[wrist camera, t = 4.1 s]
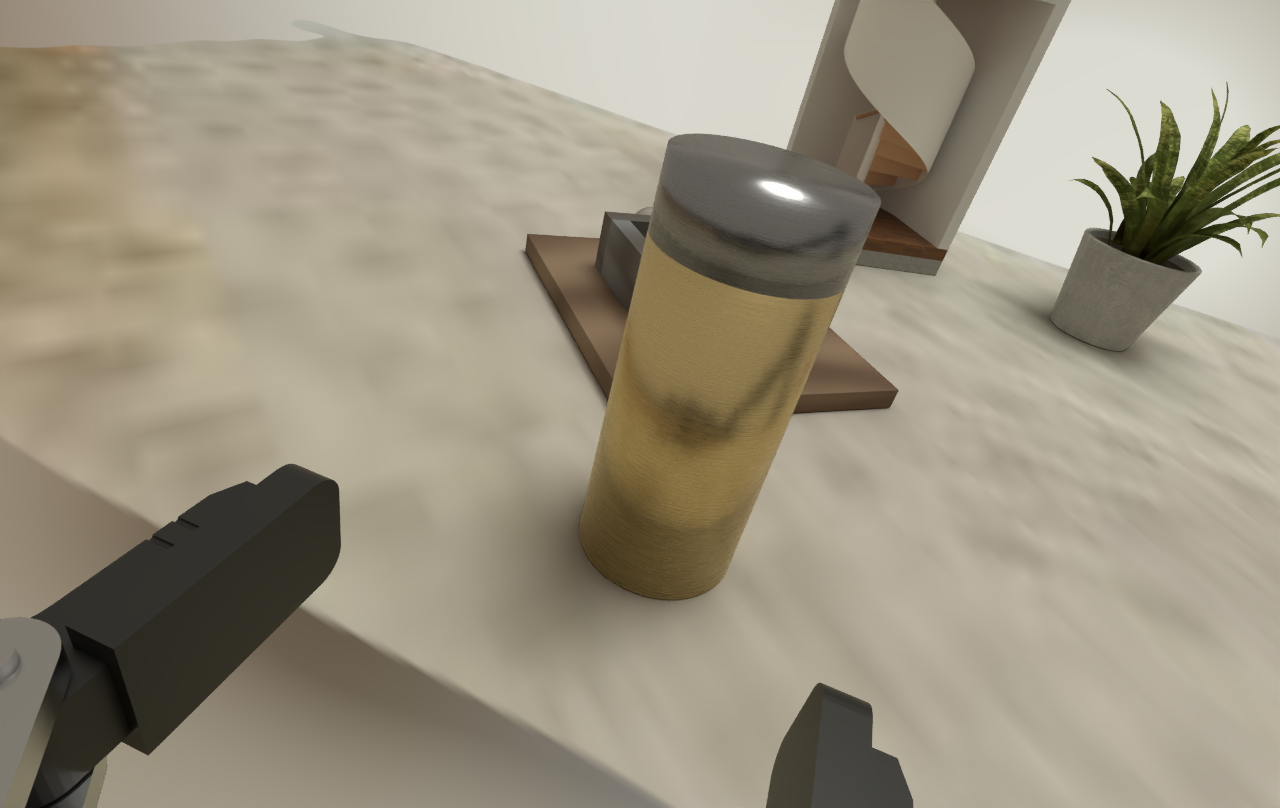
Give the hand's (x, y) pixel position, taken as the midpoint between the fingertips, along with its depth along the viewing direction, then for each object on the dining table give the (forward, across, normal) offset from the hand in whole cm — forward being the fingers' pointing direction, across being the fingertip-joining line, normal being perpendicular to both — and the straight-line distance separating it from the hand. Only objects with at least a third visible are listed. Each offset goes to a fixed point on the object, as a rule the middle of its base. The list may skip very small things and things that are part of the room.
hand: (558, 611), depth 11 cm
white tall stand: (+49, +4, -6) cm, 50 cm away
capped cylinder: (+10, 0, -7) cm, 12 cm away
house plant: (+44, +23, -7) cm, 51 cm away
